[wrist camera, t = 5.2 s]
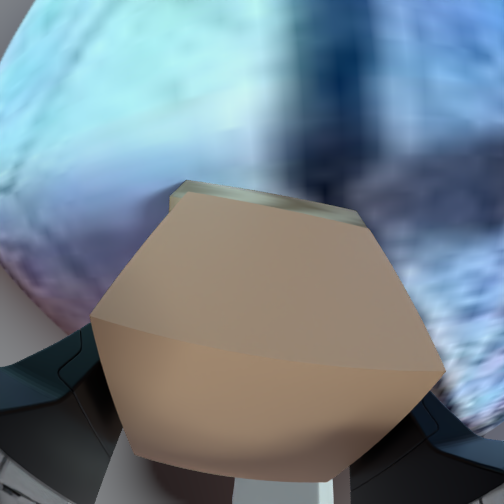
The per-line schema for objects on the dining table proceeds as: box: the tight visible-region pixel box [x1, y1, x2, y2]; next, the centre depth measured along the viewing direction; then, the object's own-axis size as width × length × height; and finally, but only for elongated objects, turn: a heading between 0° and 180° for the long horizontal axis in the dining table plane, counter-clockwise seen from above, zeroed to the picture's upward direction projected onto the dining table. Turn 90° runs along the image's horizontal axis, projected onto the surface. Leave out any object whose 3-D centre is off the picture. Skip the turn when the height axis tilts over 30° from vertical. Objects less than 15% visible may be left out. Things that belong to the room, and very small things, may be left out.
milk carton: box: [232, 477, 334, 504], centre depth 22 cm, size 7×7×19 cm
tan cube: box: [90, 191, 446, 483], centre depth 8 cm, size 6×6×6 cm
